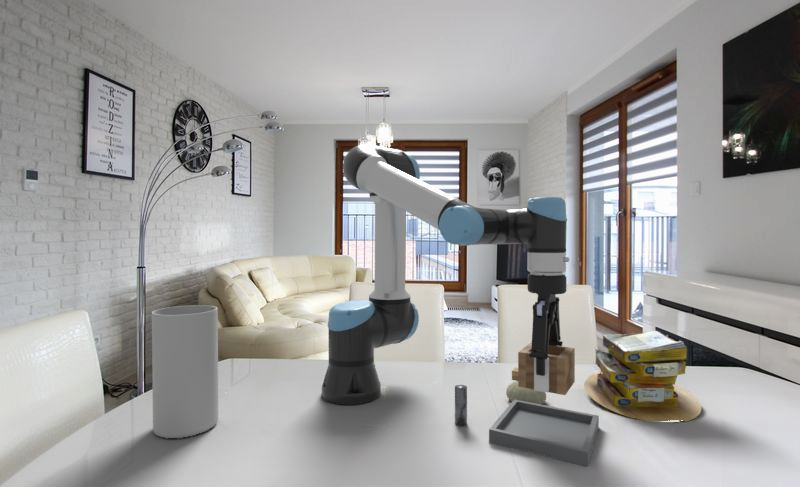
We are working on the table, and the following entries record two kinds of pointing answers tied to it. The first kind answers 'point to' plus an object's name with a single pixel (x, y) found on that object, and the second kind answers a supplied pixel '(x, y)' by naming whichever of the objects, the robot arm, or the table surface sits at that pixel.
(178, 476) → the table surface
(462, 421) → the grey rounded cylinder
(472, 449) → the table surface
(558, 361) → the wooden light box
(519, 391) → the sea urchin shell
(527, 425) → the tray
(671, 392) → the stack of yellow boxes
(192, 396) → the cylinder vase
